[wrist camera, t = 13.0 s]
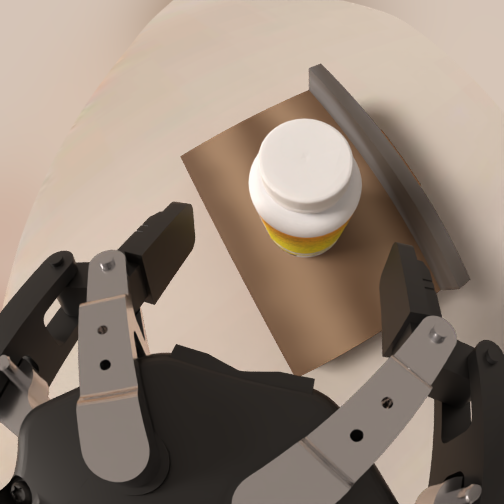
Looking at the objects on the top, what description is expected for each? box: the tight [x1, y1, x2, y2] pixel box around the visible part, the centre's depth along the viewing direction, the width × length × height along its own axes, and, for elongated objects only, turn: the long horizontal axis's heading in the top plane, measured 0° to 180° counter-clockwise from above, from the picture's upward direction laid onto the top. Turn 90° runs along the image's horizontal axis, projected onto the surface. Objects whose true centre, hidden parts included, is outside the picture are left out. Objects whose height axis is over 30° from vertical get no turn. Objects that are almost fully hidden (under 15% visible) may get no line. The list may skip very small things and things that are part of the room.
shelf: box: [181, 64, 470, 376], centre depth 22 cm, size 14×20×7 cm
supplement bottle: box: [249, 119, 362, 257], centre depth 16 cm, size 6×6×10 cm
